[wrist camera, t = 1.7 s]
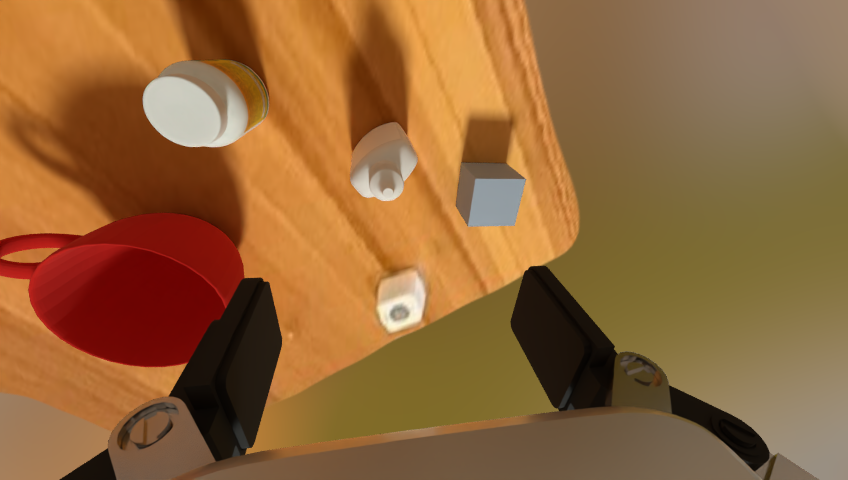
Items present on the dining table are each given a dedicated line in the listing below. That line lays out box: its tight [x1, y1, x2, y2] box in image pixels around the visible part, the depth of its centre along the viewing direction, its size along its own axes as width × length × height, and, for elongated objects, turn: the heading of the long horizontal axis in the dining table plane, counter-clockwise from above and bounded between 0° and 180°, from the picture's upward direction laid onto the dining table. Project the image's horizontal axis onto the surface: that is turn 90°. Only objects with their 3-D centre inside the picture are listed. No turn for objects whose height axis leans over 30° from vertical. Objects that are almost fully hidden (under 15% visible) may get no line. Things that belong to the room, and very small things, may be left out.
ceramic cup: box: [0, 213, 244, 367], centre depth 28 cm, size 13×17×10 cm
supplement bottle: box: [143, 59, 269, 147], centre depth 23 cm, size 5×5×10 cm
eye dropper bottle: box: [350, 122, 418, 201], centre depth 26 cm, size 4×6×12 cm
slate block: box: [456, 162, 526, 226], centre depth 33 cm, size 5×5×5 cm
